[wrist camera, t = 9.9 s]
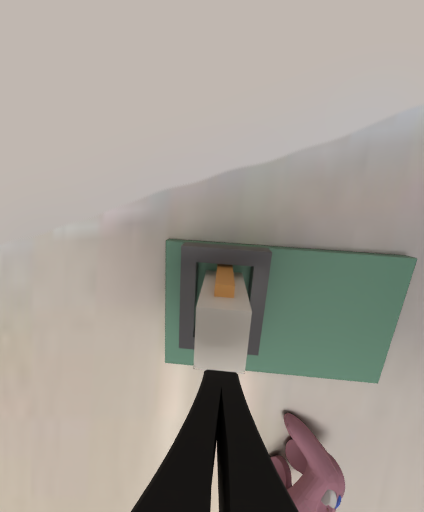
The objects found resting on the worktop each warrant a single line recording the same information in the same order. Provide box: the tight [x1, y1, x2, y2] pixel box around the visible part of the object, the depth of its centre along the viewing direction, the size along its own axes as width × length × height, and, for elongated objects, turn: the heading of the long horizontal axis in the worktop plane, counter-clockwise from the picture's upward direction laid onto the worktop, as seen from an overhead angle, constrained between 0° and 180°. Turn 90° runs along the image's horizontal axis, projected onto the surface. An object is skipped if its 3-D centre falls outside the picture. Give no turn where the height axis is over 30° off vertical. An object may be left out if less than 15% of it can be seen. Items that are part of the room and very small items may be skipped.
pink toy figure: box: [271, 413, 345, 512], centre depth 20 cm, size 10×5×7 cm, turn 147°
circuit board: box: [165, 239, 417, 383], centre depth 18 cm, size 20×12×1 cm, turn 87°
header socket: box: [179, 242, 272, 356], centre depth 17 cm, size 7×9×2 cm
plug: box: [193, 264, 252, 374], centre depth 15 cm, size 3×5×6 cm, turn 177°
